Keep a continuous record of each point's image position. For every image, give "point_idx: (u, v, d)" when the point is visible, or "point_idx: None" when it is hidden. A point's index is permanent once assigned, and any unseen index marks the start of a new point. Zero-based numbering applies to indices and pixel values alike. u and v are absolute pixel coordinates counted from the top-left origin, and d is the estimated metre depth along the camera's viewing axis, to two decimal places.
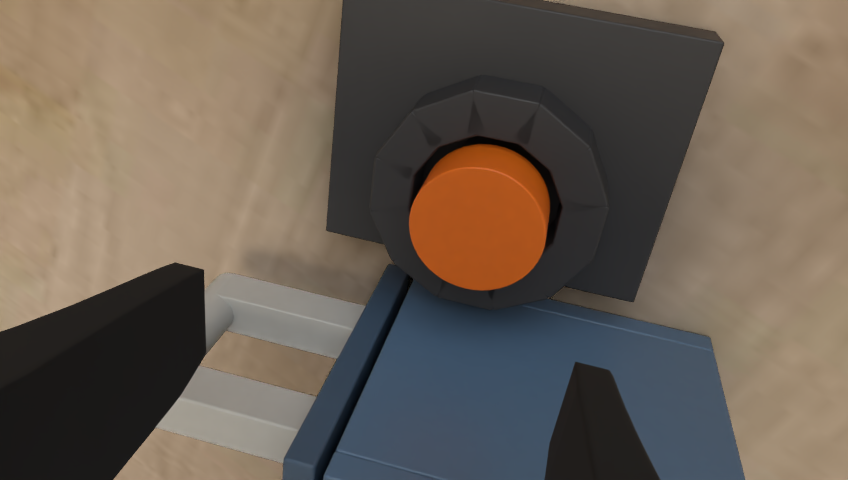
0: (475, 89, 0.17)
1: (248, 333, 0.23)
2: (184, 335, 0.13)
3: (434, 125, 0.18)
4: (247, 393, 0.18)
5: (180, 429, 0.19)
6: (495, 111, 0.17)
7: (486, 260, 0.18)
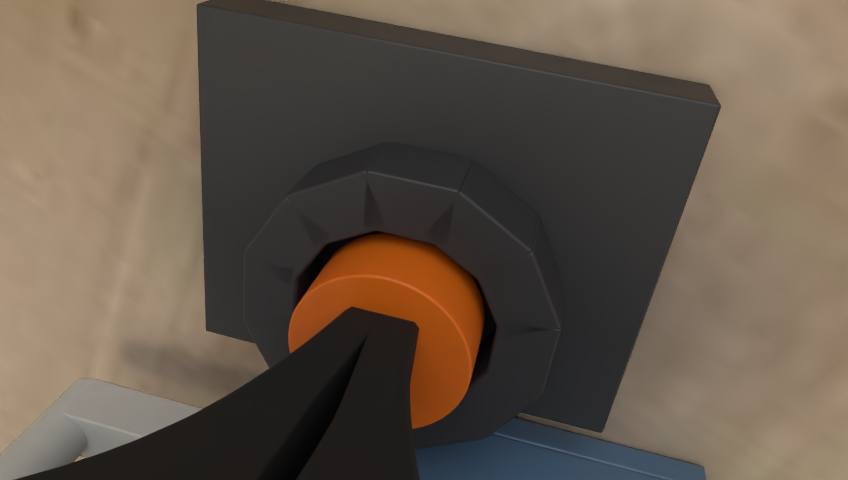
0: (369, 169, 0.12)
1: None
2: None
3: (317, 216, 0.13)
4: None
5: None
6: (398, 200, 0.12)
7: None
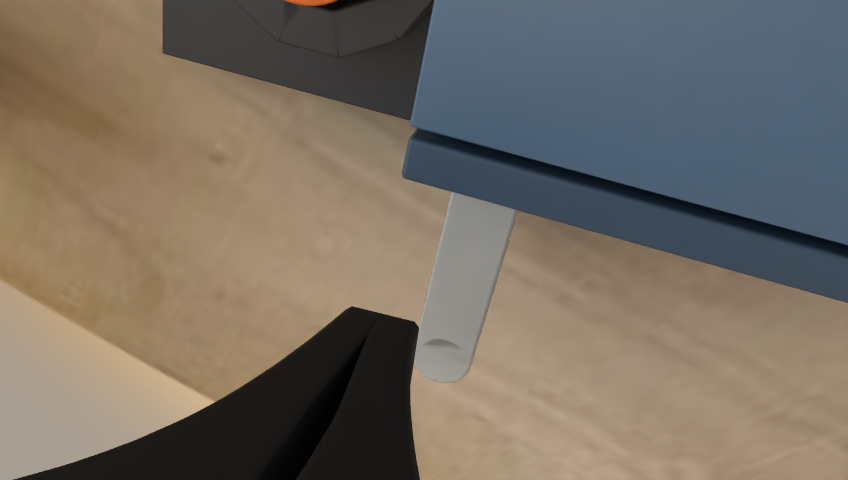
0: None
1: None
2: None
3: None
4: None
5: (473, 317, 0.15)
6: None
7: None
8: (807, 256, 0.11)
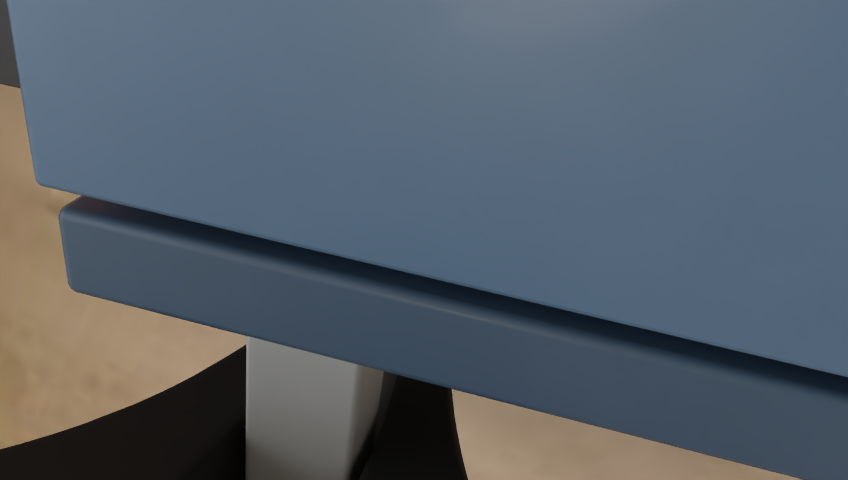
0: None
1: None
2: None
3: None
4: None
5: None
6: None
7: None
8: None
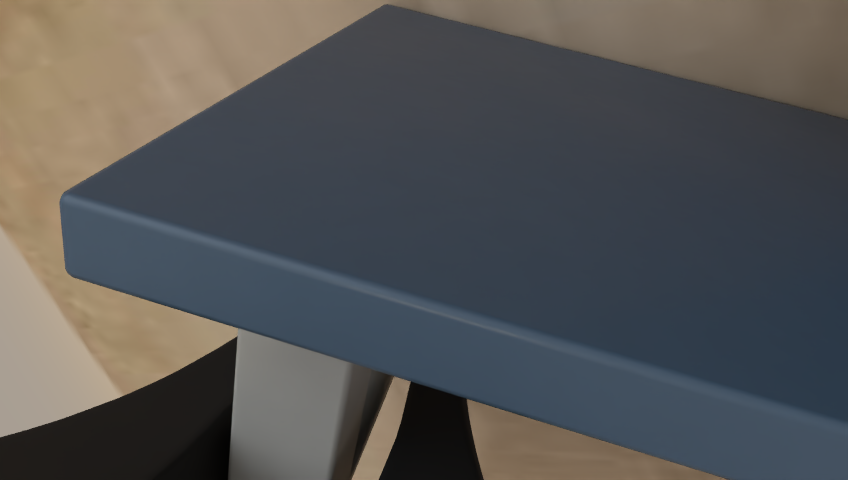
0: None
1: None
2: None
3: None
4: None
5: None
6: None
7: None
8: None
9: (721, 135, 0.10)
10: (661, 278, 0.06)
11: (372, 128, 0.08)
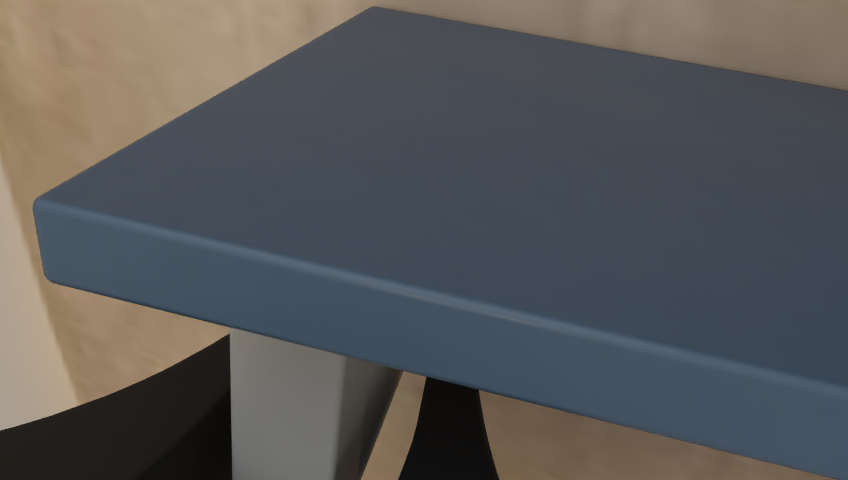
0: None
1: None
2: None
3: None
4: None
5: None
6: None
7: None
8: None
9: (711, 112, 0.10)
10: (642, 251, 0.06)
11: (351, 122, 0.08)
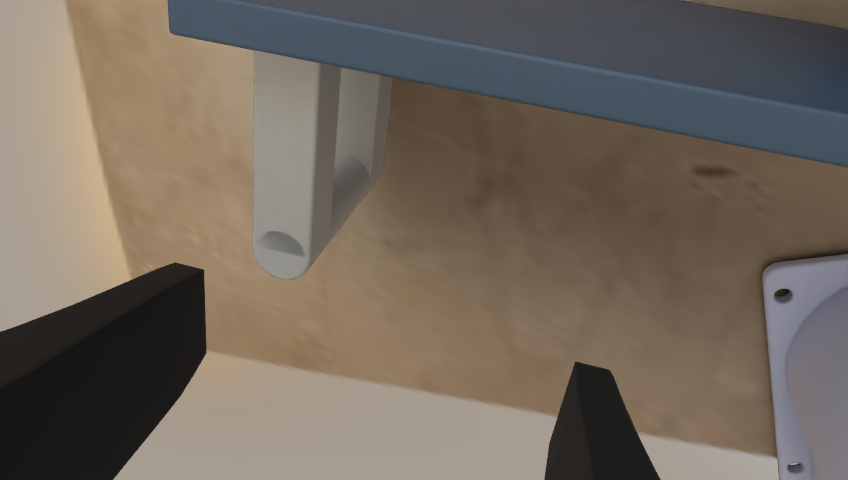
0: None
1: (369, 142, 0.19)
2: (184, 335, 0.13)
3: None
4: None
5: (300, 203, 0.15)
6: None
7: None
8: (568, 72, 0.11)
9: None
10: (457, 22, 0.12)
11: None
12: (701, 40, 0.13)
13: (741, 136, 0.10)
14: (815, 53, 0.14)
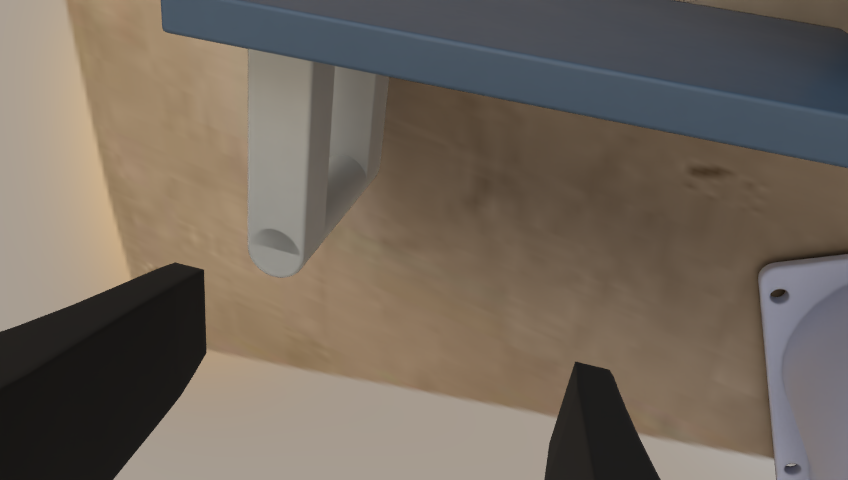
0: None
1: (365, 141, 0.19)
2: (184, 335, 0.13)
3: None
4: None
5: (294, 201, 0.15)
6: None
7: None
8: (556, 70, 0.11)
9: None
10: (447, 21, 0.12)
11: None
12: (692, 39, 0.13)
13: (728, 134, 0.10)
14: (807, 52, 0.14)
